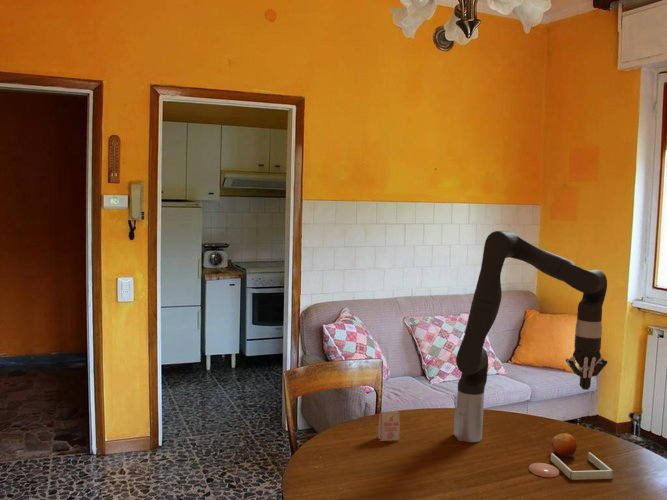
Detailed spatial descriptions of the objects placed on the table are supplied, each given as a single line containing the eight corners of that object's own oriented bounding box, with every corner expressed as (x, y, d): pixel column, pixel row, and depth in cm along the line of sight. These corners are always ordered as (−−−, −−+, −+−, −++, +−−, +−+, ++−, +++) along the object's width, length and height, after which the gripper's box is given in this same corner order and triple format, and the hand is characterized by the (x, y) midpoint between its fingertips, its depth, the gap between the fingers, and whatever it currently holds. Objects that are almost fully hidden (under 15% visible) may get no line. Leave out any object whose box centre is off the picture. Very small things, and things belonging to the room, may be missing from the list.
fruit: (584, 456, 203) (572, 435, 203) (561, 466, 205) (550, 445, 205) (579, 447, 211) (568, 426, 211) (558, 456, 213) (546, 435, 213)
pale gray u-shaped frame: (570, 479, 189) (571, 471, 189) (550, 460, 203) (550, 453, 203) (612, 478, 191) (613, 470, 191) (589, 459, 204) (590, 452, 204)
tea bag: (378, 437, 218) (379, 410, 217) (396, 436, 219) (397, 409, 218) (380, 441, 214) (381, 413, 213) (399, 441, 215) (400, 413, 214)
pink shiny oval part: (536, 477, 190) (536, 476, 190) (524, 464, 199) (524, 463, 199) (564, 477, 191) (564, 475, 191) (550, 464, 200) (551, 462, 200)
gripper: (602, 331, 195) (598, 385, 196) (562, 331, 193) (558, 385, 195) (615, 337, 187) (611, 392, 189) (573, 337, 186) (570, 393, 188)
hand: (584, 388), depth 192 cm, fingers closed
